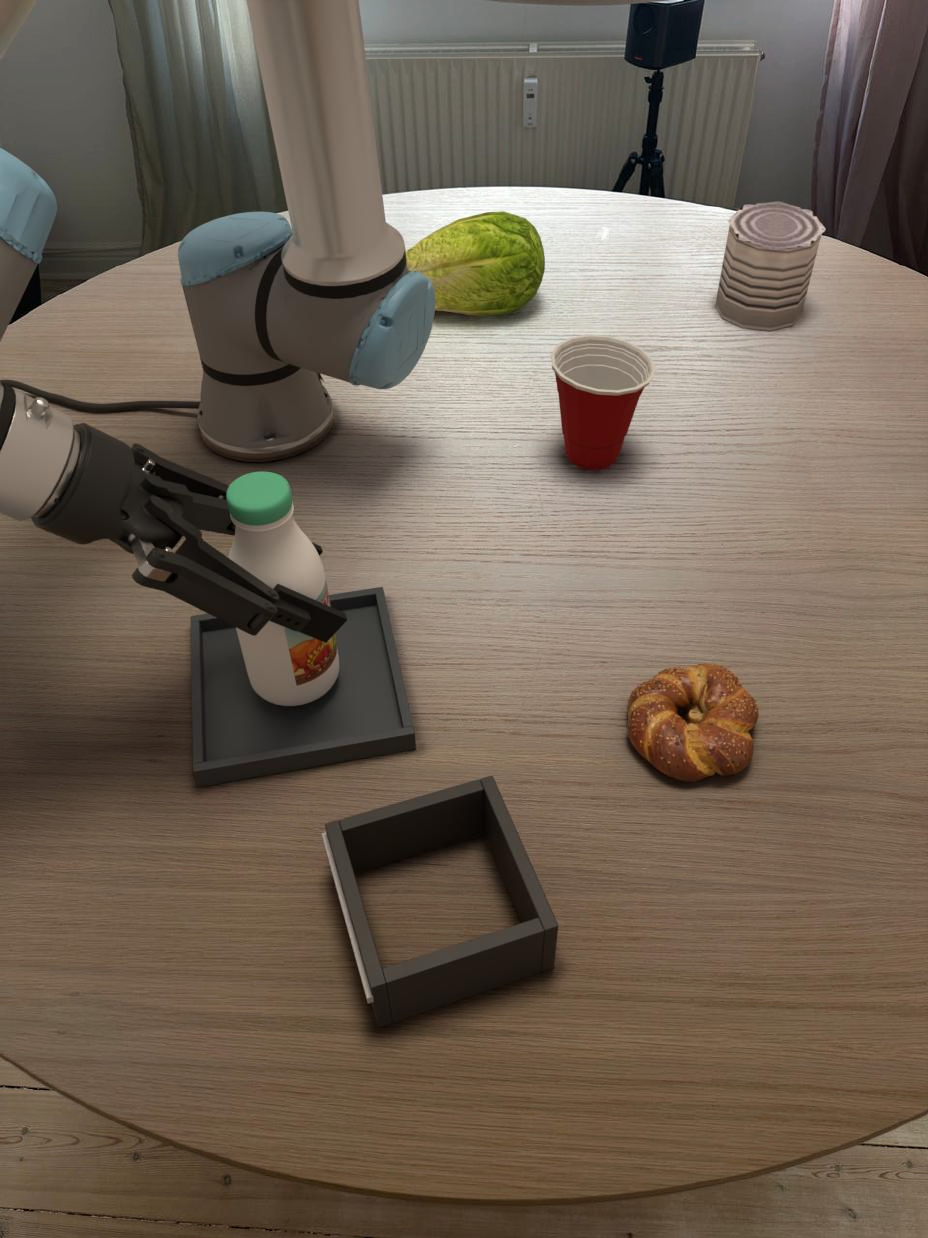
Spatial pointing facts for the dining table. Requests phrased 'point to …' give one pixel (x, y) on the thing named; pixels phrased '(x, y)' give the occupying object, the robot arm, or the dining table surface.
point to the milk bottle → (284, 556)
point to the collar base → (462, 964)
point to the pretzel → (693, 722)
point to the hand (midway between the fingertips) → (323, 593)
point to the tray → (304, 734)
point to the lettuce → (481, 264)
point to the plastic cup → (598, 395)
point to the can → (767, 265)
